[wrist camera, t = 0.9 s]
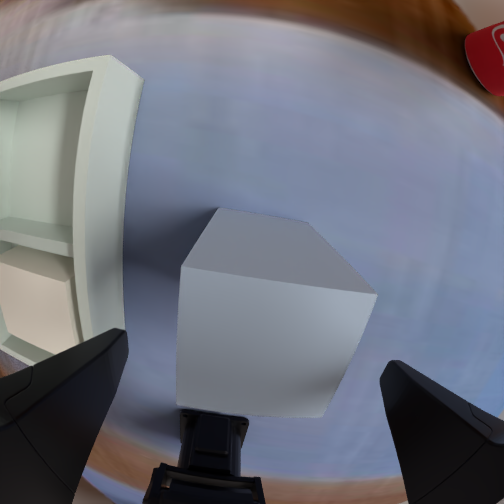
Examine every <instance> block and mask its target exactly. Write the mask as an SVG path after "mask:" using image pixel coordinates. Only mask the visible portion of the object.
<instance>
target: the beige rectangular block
mask: <svg viewBox="0 0 504 504" xmlns="http://www.w3.org/2000/svg"><path fill="white" fill-rule="evenodd" d="M0 305H1V309H2V313H3V317H4V320H5V324H6V327H7V330H8V332H9V333H10V334H12V335H14V336H16V337H18V338H20V339H22V340H24V341H26V342H28V343H31V344H33V345H35V346H37V347H39V348H41V349H44V350H46V351H48V352H51V353H53V354H55V355H56V354H58V353H60V352H62V351H65V350H67V349H69V348H71V347H73V346H75V345H78V344H80V343H82V342H84V338H83V333H82V327H81V321H80V315H79V308H78V300H77V292H76V282H75V270H74V258H71V257H67V256H62V255H58V254H54V253H50V252H45V251H41V250H37V249H33V248H29V247H25V246H21V245H18V246H16V247H14V248H12V249H10V250H8V251H6V252H4V253H2V254H0Z"/></svg>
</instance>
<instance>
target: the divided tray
mask: <svg viewBox="0 0 504 504" xmlns="http://www.w3.org/2000/svg"><path fill="white" fill-rule="evenodd" d="M143 84H144V79H143V78H141V77H140V76H139V75H137V74H136V73H135V72H133V71H132V70H131V69H129V68H128V67H127V66H125V65H124V64H123V63H121V62H120V61H118V60H117V59H116V58H114V57H113V56H112V55H105V56H98V57H91V58H85V59H80V60H74V61H69V62H65V63H60V64H56V65H52V66H48V67H44V68H40V69H37V70H33V71H30V72H27V73H24V74H21V75H18V76H15V77H12V78H9V79H6V80H4V81H1V82H0V254H2V253H4V252H6V251H8V250H10V249H12V248H14V247H16V246H18V245H21V246H25V247H29V248H33V249H37V250H41V251H45V252H50V253H54V254H58V255H62V256H67V257H71V258H74V270H75V282H76V292H77V300H78V308H79V315H80V321H81V327H82V333H83V338H84V341H86V340H88V339H91V338H93V337H95V336H97V335H99V334H101V333H103V332H106V331H108V330H110V329H112V328H119V329H123V330H125V320H124V303H123V227H124V210H125V197H126V186H127V176H128V168H129V160H130V152H131V146H132V139H133V133H134V127H135V122H136V116H137V111H138V106H139V102H140V97H141V93H142V88H143ZM0 349H1V350H2V351H4V352H6V353H8V354H9V355H11V356H13V357H15V358H16V359H18V360H20V361H22V362H24V363H26V364H27V365H29V366H31V365H32V366H33V365H34V364H36V363H38V362H40V361H43V360H45V359H47V358H49V357H51V356H54V355H55V354H53V353H51V352H48V351H46V350H44V349H41V348H39V347H37V346H35V345H33V344H31V343H28V342H26V341H24V340H22V339H20V338H18V337H16V336H14V335H12V334H10V333H9V332H8V330H7V327H6V324H5V320H4V317H3V313H2V309H1V305H0Z"/></svg>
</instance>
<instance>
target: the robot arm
mask: <svg viewBox="0 0 504 504" xmlns="http://www.w3.org/2000/svg"><path fill="white" fill-rule="evenodd" d="M128 353H129V349H128V338H127V332H126V331H125V330H123V329H119V328H112V329H110V330H108V331H106V332H103V333H101V334H99V335H97V336H95V337H93V338H91V339H88V340H86V341H84V342H82V343H80V344H78V345H75V346H73V347H71V348H69V349H67V350H65V351H62V352H60V353H58V354H56V355H54V356H51V357H49V358H47V359H45V360H43V361H40V362H38V363H36V364H34V365H33V366H32V365H31V366H29V367H27V368H25V369H23V370H20V371H18V372H15V373H13V374H11V375H8V376H5V377H2V378H0V504H72V502H73V499H74V496H75V494H74V493H75V492H76V489H77V487H78V484H79V481H80V478H81V476H82V473H83V470H84V468H85V465H86V462H87V460H88V457H89V455H90V452H91V450H92V447H93V445H94V442H95V440H96V438H97V435H98V433H99V430H100V428H101V426H102V423H103V421H104V419H105V417H106V414H107V412H108V410H109V408H110V405H111V403H112V401H113V399H114V396H115V394H116V391H117V388H118V385H119V382H120V379H121V376H122V373H123V370H124V367H125V364H126V361H127V358H128ZM380 387H381V392H382V397H383V402H384V407H385V412H386V417H387V420H388V424H389V427H390V430H391V434H392V437H393V441H394V445H395V448H396V452H397V456H398V460H399V464H400V468H401V472H402V476H403V480H404V485H405V489H406V494H407V499H408V503H409V504H504V421H503V420H501V419H499V418H497V417H495V416H493V415H491V414H489V413H487V412H485V411H483V410H481V409H480V408H478V407H476V406H474V405H473V404H471V403H469V402H467V401H466V400H464V399H463V398H461V397H459V396H458V395H456V394H454V393H453V392H451V391H449V390H448V389H446V388H444V387H443V386H441V385H440V384H438V383H436V382H435V381H433V380H431V379H430V378H428V377H426V376H425V375H423V374H422V373H420V372H418V371H417V370H415V369H413V368H412V367H410V366H409V365H407V364H405V363H404V362H402V361H400V360H391V361H389V362H388V364H387V366H386V368H385V369H384V371H383V373H382V375H381V377H380ZM248 426H249V420H248V419H247V418H239V417H230V416H222V415H214V414H207V413H201V412H195V411H189V410H182V411H181V413H180V438H181V443H182V444H181V450H180V455H179V460H178V466H177V467H175V466H170V465H167V464H166V463H162V462H161V463H160V467H159V468H154V469H153V473H152V477H151V481H150V484H149V486H148V489H147V491H146V494H145V496H144V498H143V502H142V504H266V503H265V498H264V493H263V488H262V483H261V478H260V477H240V471H241V448H242V445H243V442H244V439H245V435H246V432H247V429H248ZM166 486H170V487H169V488H167V487H166Z"/></svg>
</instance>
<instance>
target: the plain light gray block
mask: <svg viewBox="0 0 504 504" xmlns="http://www.w3.org/2000/svg"><path fill="white" fill-rule="evenodd" d="M377 296H378V294H377V293H376V292H375V291H374V290H373V289H372V288H371V287H370V285H369V284H368V283H367V282H366V281H365V280H364V279H363V278H362V277H361V276H360V275H359V274H358V273H357V272H356V271H355V269H354V268H353V267H352V266H351V265H350V264H349V263H348V262H347V261H346V260H345V259H344V258H343V257H342V256H341V255H340V254H339V253H338V252H337V251H336V250H335V249H334V248H333V247H332V246H331V245H330V244H329V243H328V242H327V241H326V240H325V239H324V238H323V237H322V236H321V235H320V234H319V233H318V232H317V231H316V230H315V229H314V228H313V227H312V226H311V225H310V224H309V223H307V222H302V221H296V220H291V219H285V218H280V217H274V216H268V215H262V214H257V213H251V212H245V211H238V210H232V209H226V208H218V209H217V211H216V212H215V214H214V215H213V217H212V218H211V220H210V222H209V223H208V225H207V226H206V228H205V229H204V231H203V232H202V234H201V235H200V237H199V239H198V240H197V242H196V243H195V245H194V246H193V248H192V250H191V251H190V253H189V254H188V256H187V258H186V259H185V261H184V263H183V264H182V266H181V276H180V289H179V305H178V324H177V352H176V405H180V406H186V407H191V408H197V409H203V410H209V411H216V412H224V413H232V414H241V415H252V416H266V417H289V418H321V417H322V416H323V414H324V412H325V410H326V409H327V407H328V405H329V403H330V401H331V399H332V398H333V396H334V394H335V392H336V390H337V388H338V386H339V384H340V382H341V380H342V378H343V376H344V374H345V372H346V370H347V368H348V366H349V364H350V361H351V359H352V357H353V355H354V353H355V350H356V348H357V346H358V344H359V341H360V339H361V337H362V334H363V332H364V329H365V327H366V325H367V322H368V320H369V317H370V314H371V312H372V309H373V307H374V304H375V301H376V299H377Z"/></svg>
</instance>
